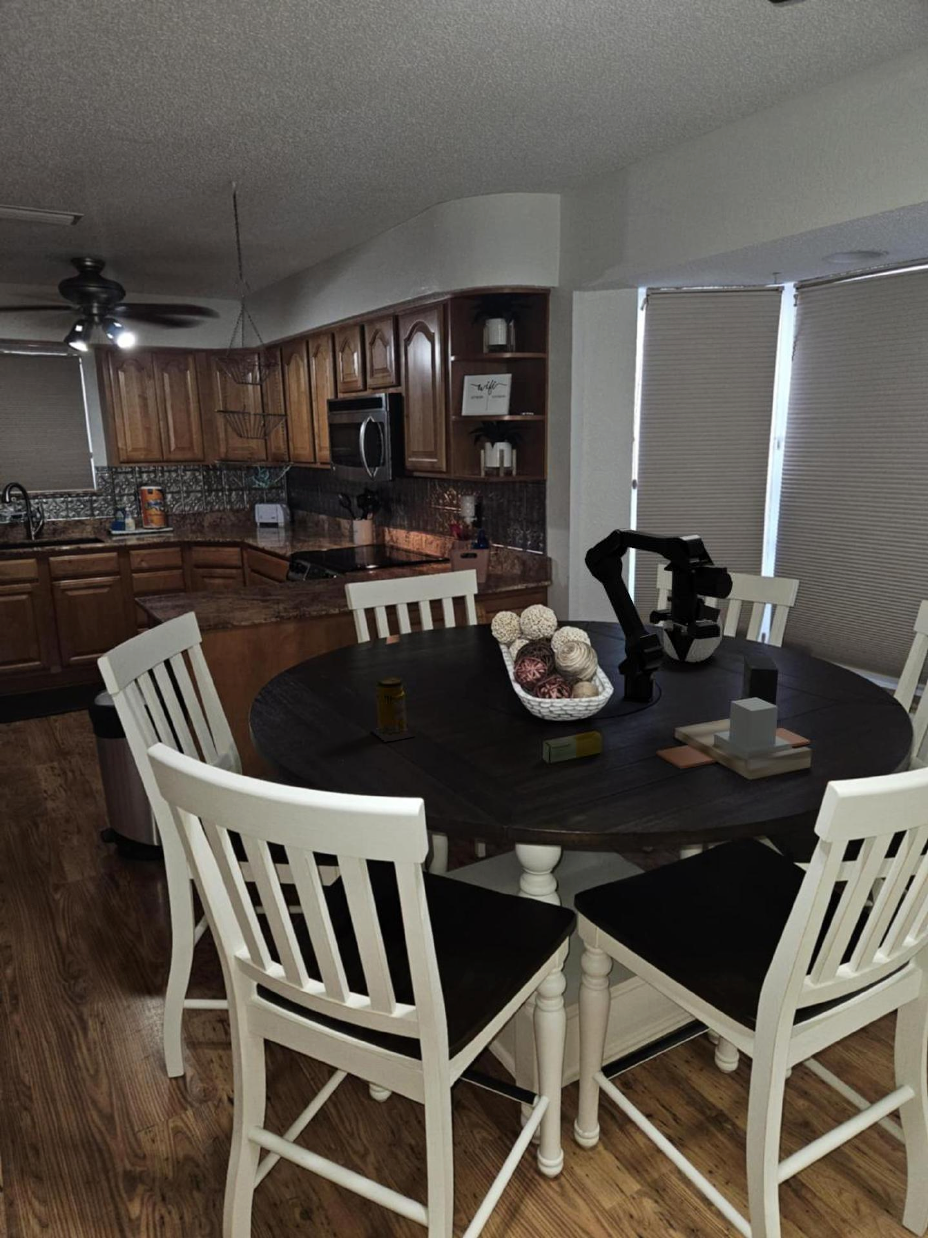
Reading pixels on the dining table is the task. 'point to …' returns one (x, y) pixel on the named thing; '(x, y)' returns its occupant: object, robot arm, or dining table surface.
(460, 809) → the dining table surface
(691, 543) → the robot arm
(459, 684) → the dining table surface
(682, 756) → the pad
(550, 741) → the medication box
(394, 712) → the condiment
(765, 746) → the stepped block
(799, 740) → the pad
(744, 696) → the small box
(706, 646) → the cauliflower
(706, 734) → the birch board
